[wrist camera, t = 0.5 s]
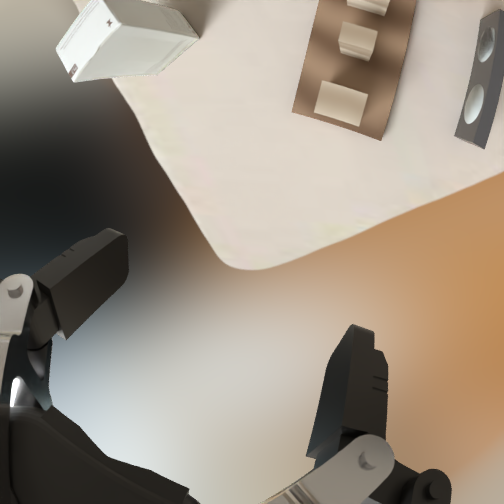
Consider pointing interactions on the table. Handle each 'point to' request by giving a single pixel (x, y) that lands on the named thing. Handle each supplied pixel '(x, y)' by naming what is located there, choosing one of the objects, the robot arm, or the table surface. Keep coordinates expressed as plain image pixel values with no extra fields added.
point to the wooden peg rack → (354, 63)
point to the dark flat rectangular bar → (484, 82)
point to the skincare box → (123, 40)
